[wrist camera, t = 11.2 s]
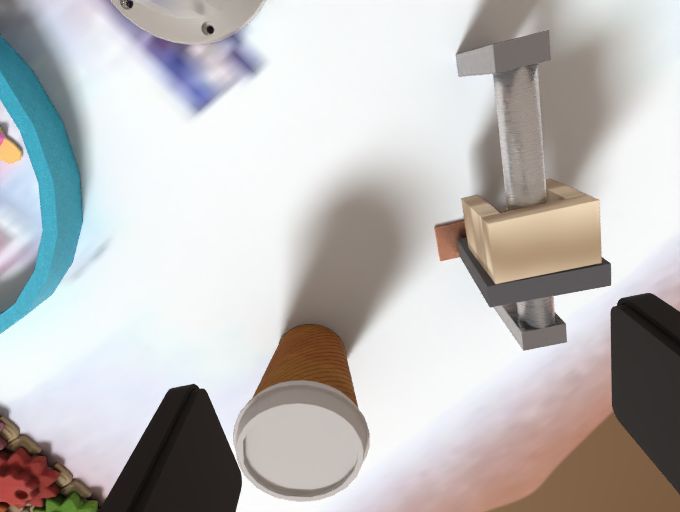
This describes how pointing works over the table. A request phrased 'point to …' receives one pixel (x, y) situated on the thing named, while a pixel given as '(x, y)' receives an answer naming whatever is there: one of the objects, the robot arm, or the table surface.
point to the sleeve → (535, 234)
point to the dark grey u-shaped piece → (534, 281)
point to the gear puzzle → (36, 478)
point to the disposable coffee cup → (303, 420)
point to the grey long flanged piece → (515, 166)
